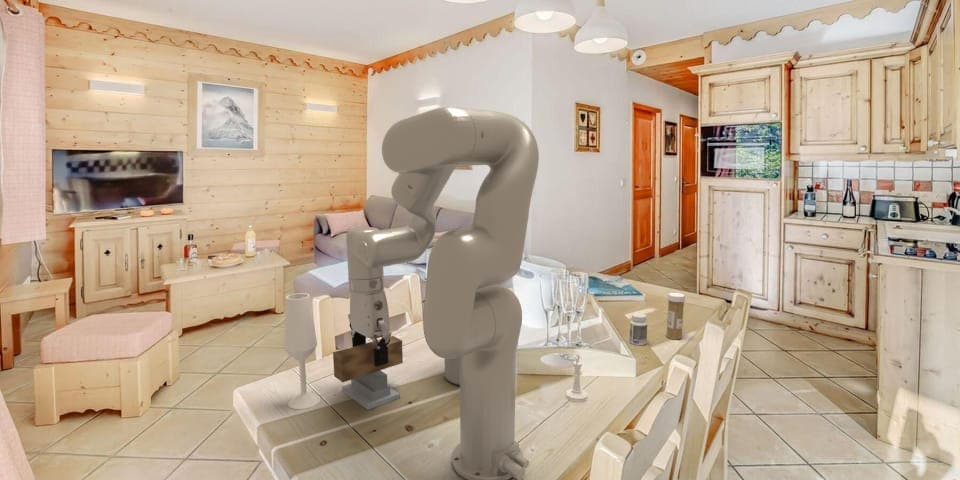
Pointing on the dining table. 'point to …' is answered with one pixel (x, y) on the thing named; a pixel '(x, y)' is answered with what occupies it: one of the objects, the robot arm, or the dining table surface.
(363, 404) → the block
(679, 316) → the sprinkles bottle
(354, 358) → the walnut block
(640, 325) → the pill bottle
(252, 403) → the dining table surface
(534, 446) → the dining table surface
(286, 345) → the champagne flute
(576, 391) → the chess piece
